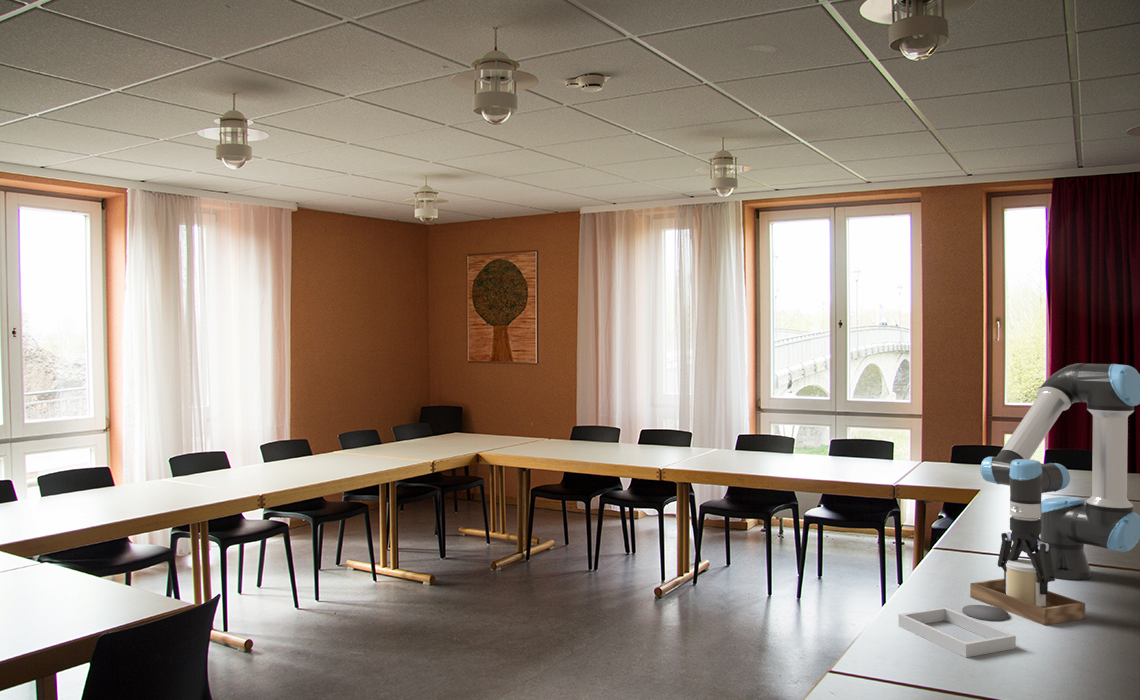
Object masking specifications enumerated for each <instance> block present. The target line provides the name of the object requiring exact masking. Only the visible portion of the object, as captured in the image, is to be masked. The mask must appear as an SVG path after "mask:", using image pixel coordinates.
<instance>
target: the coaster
mask: <svg viewBox="0 0 1140 700" xmlns="http://www.w3.org/2000/svg"><path fill="white" fill-rule="evenodd" d="M962 614H963V615H965V614H966V616H968V617H970V618H973V619H975V620H979V621H980V620H981V621H989V622H1000V621H1001V622H1002V621H1006V620H1008V619H1009V617H1010V615H1009V612H1008V611H1005V610H1003V609H1000V608H997V607H995V606H992V605H985V604H969V605H965V606H963V607H962Z"/></svg>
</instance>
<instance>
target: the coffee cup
mask: <svg viewBox="0 0 1140 700" xmlns="http://www.w3.org/2000/svg"><path fill="white" fill-rule="evenodd" d="M1006 567H1007V581H1008V595H1009V596H1012V597H1014V598H1017V599H1020V600H1023V601H1026V602H1029V603H1031V604H1034V605H1036V581H1038V578H1037V575H1036V571H1035V570H1036V569H1035V568H1034V567H1033V565H1032V562H1031V559H1024V558H1023V559H1022V558H1021V559H1020V558H1018V560H1015V561H1010V560H1008V561H1007V563H1006ZM1042 578H1043V576H1042ZM1040 607H1043V606H1040Z"/></svg>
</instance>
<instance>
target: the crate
mask: <svg viewBox="0 0 1140 700" xmlns="http://www.w3.org/2000/svg"><path fill="white" fill-rule="evenodd" d="M969 587H970V594H969V595H970V596H969V598H971V599H974V600H977V601H980V602H982V603H984V604H987V605H989V604H990V605H989V606H992V605H993V606H992V607H996V608H1000V609H1002V610H1005V611H1006V612H1008V613H1011V614H1013V615H1016V616H1018V617H1022V618H1024V619H1027V620H1030V621H1033V622H1034V623H1037V624H1039V625H1041V626H1049V625H1055V624H1060V623H1061V624H1062V623H1067V622H1072V621H1079V620H1084V619H1086V603H1085V602H1083V601H1079V600H1078V599H1077V600H1076V599H1073V598H1072V597H1071V598H1070V597H1068V596H1065V595H1061V594H1059V593H1056V592H1053V591H1050V590H1048V593H1047V594H1046V606H1045V607H1044V606H1042V607H1040V606H1037V605H1034V604H1031V603H1029V602H1026V601H1023V600H1020V599H1017V598H1014V597H1012V596H1009V595H1006V594H1005V593H1006V582H1005V581H1004V578H998V579H990V580H983V581H976V582H970V586H969Z"/></svg>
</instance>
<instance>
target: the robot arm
mask: <svg viewBox="0 0 1140 700" xmlns="http://www.w3.org/2000/svg"><path fill="white" fill-rule="evenodd" d="M1036 397H1037V398H1036V399H1035V400H1034V402H1033V404H1032V405H1031V407H1029V409H1028V410H1027V413H1026V414H1025V416H1024V417H1023V418H1022V420H1021V421H1020V423H1019V424H1018V425H1017V427H1016V429H1014V431H1013V433H1012V434H1011V436H1010V437H1009V439H1008V440H1007V441H1006V443H1005V444H1004V446H1003V447H1002V449H1001V450H1000V452H998V454H997V456H987V457H985V458H983V460H982V461H981V464H980V475H981V478H982V479H983V480H984V481H986V482H989V483H992V484H996V485H1002V486H1003V485H1004V486H1009V488H1010V489H1009V492H1010V493H1009V515H1010V517H1009V529H1010V530H1009V532H1002V533H1001V537H1000V538H1001V545H1000V548H999V549H1000V551H999V554H998V560H997V567H998V568H1001V569H1002V570H1003V577H1004V581H1005V582H1006V595H1008V581H1007V567H1006V563H1007V561H1008V560H1010V561H1015V560H1018V559H1020V557H1021V556H1020V555H1021V553H1022V552H1023V553H1025V554H1027V557H1028V558H1029V560H1031V562H1032V565H1033V567H1034V568H1035V569H1036V570H1035V571H1036V575H1037V578H1038V581H1036V605H1037V606H1042V607H1047V606H1046V594H1047V593H1048V591H1049V588H1048V587H1049V586H1048V585H1049V582H1055V581H1056V579H1063V580H1077V581H1078V580H1086V579H1089V578H1090V577H1091V567H1090V564H1089V561H1088V558H1087V555H1086V552H1085V545H1087V546H1092V547H1097V548H1102V549H1105V550H1108V551H1117V552H1123V553H1124V552H1129V551H1131V550H1132V549H1134V548H1135V546H1136V545H1137V544H1138V543H1139V540H1140V514H1138V513H1137V512H1134V504H1133V503H1132V502H1131V501H1130V500H1129V499H1128V498H1127V497H1128V439H1129V438H1128V437H1129V436H1128V435H1129V433H1128V429H1129V427H1128V426H1129V425H1128V424H1129V423H1128V421H1129V419H1128V418H1129V416H1130V415H1132V414H1133V413H1134V412H1135V406H1138V405H1140V373H1139V372H1138V370H1137V369H1136V368H1135V367H1134V366H1131V365H1127V364H1117V363H1108V364H1107V363H1085V362H1084V363H1083V362H1082V363H1081V362H1080V363H1073V364H1069V365H1066V366H1065V367H1063V368H1060V369H1059V370H1057V371H1056V372H1053V374H1052V375H1050V376H1049V377H1048V378H1047V379H1046V380H1045V381H1043V383H1042V384H1041V385H1040V387H1039V388H1038V390H1037V392H1036ZM1074 403H1086V410H1087V411H1088V412H1089V413H1090V414H1091V416H1092V469H1091V470H1092V474H1091V475H1092V477H1091V482H1092V483H1091V491H1092V492H1091V496H1090V497H1089V498H1087V499H1086V500H1084V499H1083V498H1080V497H1074V496H1071V497H1069V496H1067V497H1065V496H1060V497H1049V498H1045V499H1043V500H1042V496H1043V494H1044V493H1045V494H1048V493H1052V492H1053V493H1055V492H1058V491H1060V490H1064V489H1066V488H1067V487H1068V486H1069V484H1070V481H1071V476H1070V471H1068V469H1067V467H1066V466H1064V465H1062V464H1060V463H1056V462H1054V463H1052V462H1048V463H1041V462H1040V460H1035V459H1031V458H1032V457H1033V456H1034V453H1036V451H1037V449H1038V448H1039V446H1040V445H1041V444H1042V442H1043V440H1044V439H1045V438H1046V436H1047V434H1048V433H1049V432H1050V430H1051V429H1052V427H1053V426H1054V424H1055V423H1056V421H1058V418H1059V417H1060V415H1061V414H1062V412H1063V411H1067V410H1069V409H1070V407H1071V406H1072V405H1073V404H1074ZM1010 531H1011V532H1010ZM1042 576H1043V578H1042Z"/></svg>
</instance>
